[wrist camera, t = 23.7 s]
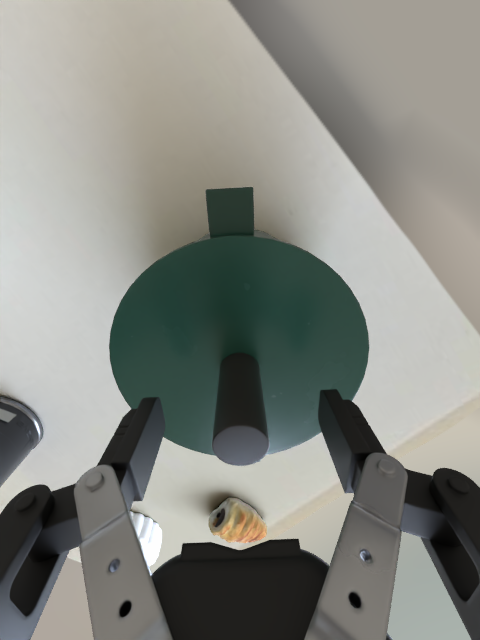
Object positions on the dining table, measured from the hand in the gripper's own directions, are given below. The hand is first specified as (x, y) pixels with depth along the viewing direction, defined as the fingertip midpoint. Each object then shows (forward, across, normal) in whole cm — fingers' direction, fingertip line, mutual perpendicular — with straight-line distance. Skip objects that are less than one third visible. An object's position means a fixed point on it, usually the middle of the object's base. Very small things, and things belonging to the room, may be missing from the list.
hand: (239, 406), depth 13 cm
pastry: (+15, +2, +36) cm, 39 cm away
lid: (+4, 0, 0) cm, 4 cm away
